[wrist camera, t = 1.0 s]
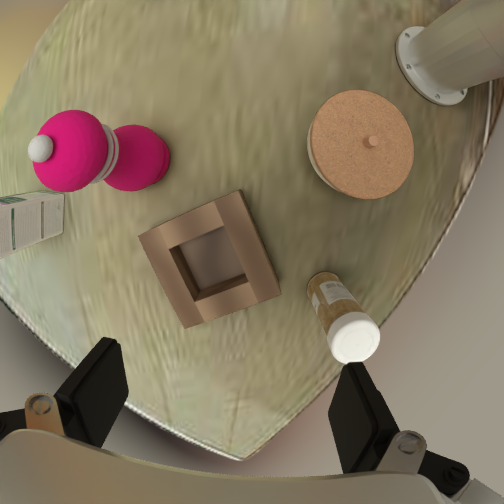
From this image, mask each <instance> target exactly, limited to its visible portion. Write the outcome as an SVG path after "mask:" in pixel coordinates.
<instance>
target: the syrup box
mask: <svg viewBox="0 0 504 504" xmlns="http://www.w3.org/2000/svg"><path fill="white" fill-rule="evenodd" d="M63 216H64V194H59V193H53V192H44V191H35V192H29V193H23V194H17V195H11V196H6V197H1V198H0V259H1V258H3V257H6V256H8V255H10V254H13V253H15V252H17V251H20V250H22V249H25V248H27V247H29V246H32V245H34V244H37V243H39V242H42V241H44V240H47V239H49V238H52V237H54V236H57V235H60V234H62V233H63Z"/></svg>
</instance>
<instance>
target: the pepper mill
mask: <svg viewBox="0 0 504 504" xmlns="http://www.w3.org/2000/svg"><path fill="white" fill-rule="evenodd" d="M28 154H29V157H30V158H31V159H32V160H33V166H34V170H35V173H36V175H37V177H38V178H39V180H40V181H41V182H42V183H43V184H44V185H45V186H46V187H48V188H50V189H52V190H54V191H59V192H73V191H76V190H79V189H82V188H83V187H85V186H86V185H88V184H89V183H97V182H99V181H101V180H104V181H105V182H106V183H107V184H109V185H110V186H112V187H114V188H116V189H118V190H122V191H137V190H141V189H143V188H145V187H147V186H148V185H151V184H154V183H156V182H157V181H159V180H160V179H161V178H162V177H163V176H164V174H165V173H166V171H167V169H168V166H169V162H170V154H169V150H168V147H167V145H166V144H165V142H164V141H163V140H162V139H160V138H159V137H158V136H157V135H156V134H155V133H154V132H153V131H152V130H150V129H149V128H147V127H144V126H139V125H126V126H123V127H119V128H117V129H115V130H112V129H111V128H109V127H108V126H106V125H104V124H101V123H100V122H99V120H98V119H97V118H95V117H94V116H93V115H91V114H89V113H87V112H85V111H80V110H68V111H64V112H61V113H58V114H56V115H55V116H53V117H52V118H50V119H49V120H48V121H47V122H46V123H45V124H44V125H43V126H42V127H41V129H40V131H39V133H38V134H37V136H36V137H35V138H33V139H32V141H31V142H30V144H29V148H28Z"/></svg>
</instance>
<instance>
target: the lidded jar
mask: <svg viewBox="0 0 504 504" xmlns="http://www.w3.org/2000/svg"><path fill="white" fill-rule="evenodd" d="M307 150H308V155H309V158H310V161H311V164H312V166H313V168H314V169H315V171H316V173H317V174H318V175H319V177H320V178H321V179H322V180H323V181H324V182H325V183H327V184H328V185H329V186H331V187H332V188H333V189H335V190H337V191H339V192H341V193H344V194H346V195H348V196H351V197H354V198H359V199H378V198H382V197H385V196H387V195H389V194H391V193H393V192H394V191H396V190H397V189H398V188H399V187H400V186H401V185H402V184H403V183H404V181H405V180H406V178H407V177H408V175H409V172H410V170H411V168H412V163H413V158H414V143H413V138H412V134H411V131H410V128H409V126H408V124H407V122H406V120H405V118H404V117H403V115H402V114H401V113H400V111H399V110H398V109H397V108H396V107H395V106H394V105H393V104H392V103H391V102H389V101H388V100H386V99H385V98H383V97H382V96H380V95H378V94H375V93H373V92H369V91H365V90H348V91H344V92H341V93H338V94H336V95H334V96H333V97H331V98H329V99H328V100H327V101H326V102H325V103H324V104H323V105H322V106H321V107H320V109H319V110H318V111H317V113H316V115H315V117H314V118H313V121H312V123H311V125H310V128H309V132H308V137H307Z"/></svg>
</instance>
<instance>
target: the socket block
mask: <svg viewBox="0 0 504 504" xmlns="http://www.w3.org/2000/svg"><path fill="white" fill-rule="evenodd" d="M138 237H139V240H140V242H141V244H142V246H143V248H144V250H145V252H146V255H147V257H148V259H149V261H150V263H151V265H152V267H153V269H154V271H155V273H156V275H157V277H158V279H159V281H160V283H161V285H162V287H163V289H164V291H165V293H166V295H167V297H168V299H169V301H170V303H171V305H172V306H173V308H174V310H175V312H176V314H177V316H178V318H179V319H180V321H181V323H182V325H183V327H184V328H185V329H186V328H189V327H192V326H195V325H198V324H201V323H204V322H207V321H210V320H213V319H216V318H218V317H221V316H224V315H227V314H230V313H233V312H235V311H238V310H241V309H244V308H247V307H249V306H252V305H255V304H257V303H260V302H263V301H266V300H268V299H271V298H274V297H276V296H279V295H281V290H280V285H279V281H278V279H277V276H276V274H275V271H274V269H273V267H272V264H271V262H270V259H269V257H268V254H267V252H266V249H265V247H264V245H263V242H262V240H261V237H260V235H259V233H258V230H257V228H256V225H255V223H254V221H253V218H252V216H251V213H250V211H249V209H248V206H247V204H246V201H245V199H244V197H243V194H242V192H241V190H238V191H235V192H233V193H230V194H228V195H226V196H223V197H221V198H219V199H216V200H214V201H212V202H210V203H207V204H205V205H203V206H200V207H198V208H196V209H194V210H191V211H189V212H187V213H185V214H183V215H180V216H178V217H176V218H174V219H172V220H170V221H168V222H165V223H163V224H161V225H159V226H157V227H155V228H153V229H151V230H149V231H147V232H145V233H143V234H141V235H139V236H138Z"/></svg>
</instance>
